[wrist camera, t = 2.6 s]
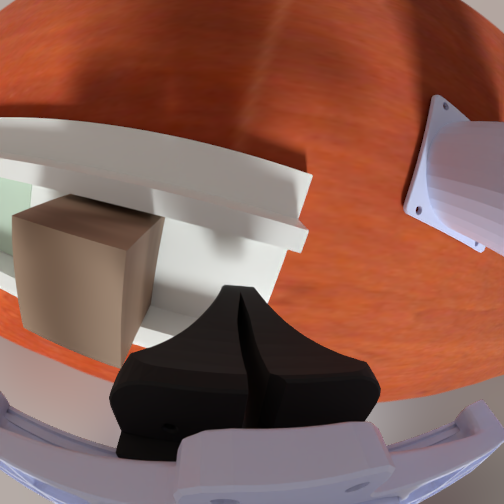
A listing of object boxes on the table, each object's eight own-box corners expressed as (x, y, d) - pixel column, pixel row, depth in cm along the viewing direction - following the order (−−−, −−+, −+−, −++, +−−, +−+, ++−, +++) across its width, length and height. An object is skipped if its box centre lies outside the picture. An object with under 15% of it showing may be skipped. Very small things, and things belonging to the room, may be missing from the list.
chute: (307, 173, 13) (335, 182, 9) (241, 359, 17) (243, 406, 13) (-11, 117, 10) (-48, 119, 6) (-15, 270, 13) (-44, 291, 10)
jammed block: (166, 213, 12) (126, 250, 7) (150, 304, 13) (121, 368, 9) (77, 191, 11) (11, 215, 6) (71, 278, 13) (23, 327, 8)
